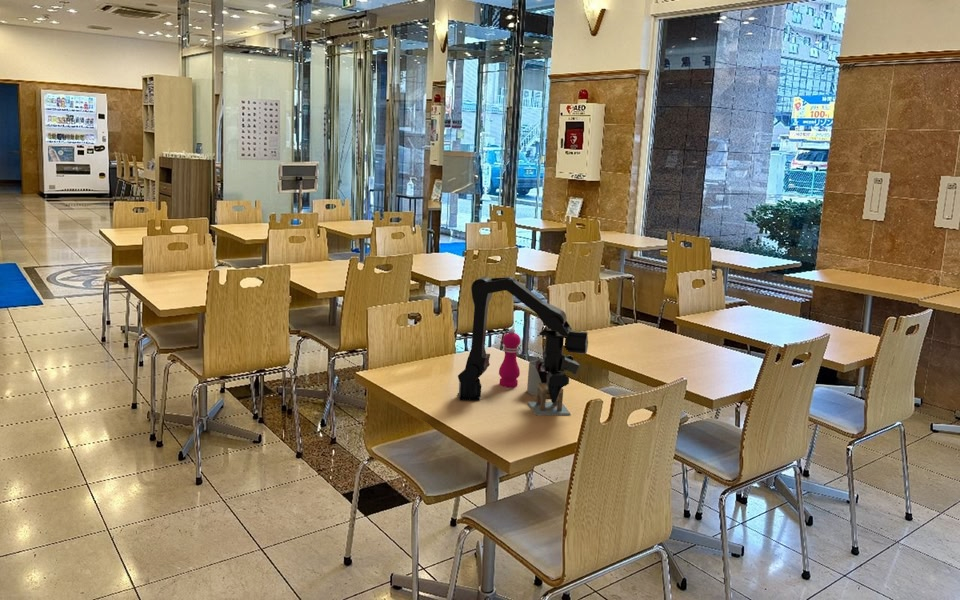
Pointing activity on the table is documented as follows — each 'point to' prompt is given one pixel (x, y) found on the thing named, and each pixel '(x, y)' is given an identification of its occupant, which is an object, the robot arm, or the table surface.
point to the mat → (548, 409)
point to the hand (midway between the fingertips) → (549, 397)
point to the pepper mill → (510, 360)
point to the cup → (533, 378)
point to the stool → (547, 397)
